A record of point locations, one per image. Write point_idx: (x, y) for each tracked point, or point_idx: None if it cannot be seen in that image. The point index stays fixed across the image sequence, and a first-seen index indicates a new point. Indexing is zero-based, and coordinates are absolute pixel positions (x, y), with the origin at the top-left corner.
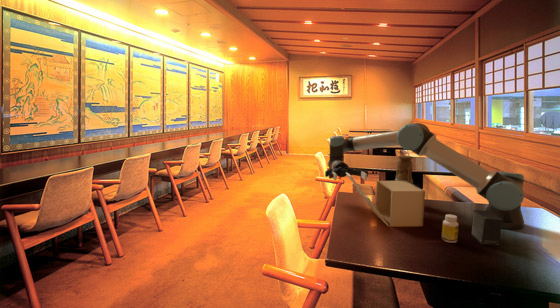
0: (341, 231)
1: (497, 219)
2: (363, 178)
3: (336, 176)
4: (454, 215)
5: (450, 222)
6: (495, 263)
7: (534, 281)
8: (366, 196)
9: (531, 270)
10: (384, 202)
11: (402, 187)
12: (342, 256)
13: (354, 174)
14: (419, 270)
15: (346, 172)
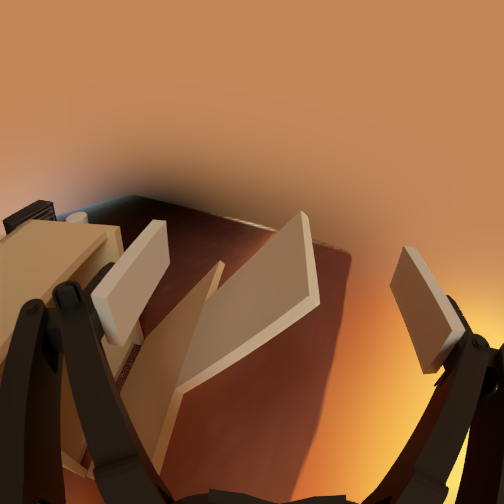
0: (316, 343)
1: (43, 200)
2: (154, 285)
3: (399, 260)
4: (68, 217)
5: (87, 223)
6: (114, 219)
7: (123, 201)
8: (219, 271)
9: (98, 210)
10: None
11: (30, 252)
12: (331, 255)
13: (134, 431)
14: (227, 221)
15: (312, 292)
